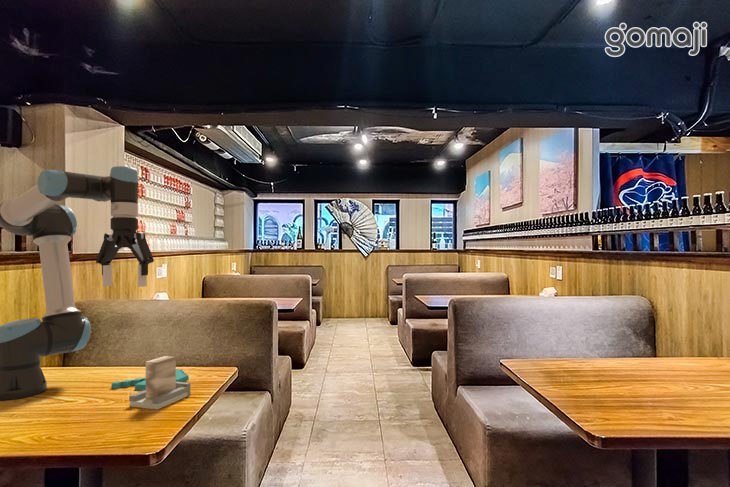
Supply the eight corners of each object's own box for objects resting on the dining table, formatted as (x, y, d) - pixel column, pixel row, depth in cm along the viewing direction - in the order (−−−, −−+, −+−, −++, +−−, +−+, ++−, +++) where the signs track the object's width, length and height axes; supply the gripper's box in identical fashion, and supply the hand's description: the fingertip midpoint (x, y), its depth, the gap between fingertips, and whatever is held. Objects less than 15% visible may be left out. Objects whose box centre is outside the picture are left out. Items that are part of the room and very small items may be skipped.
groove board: (129, 406, 135) (129, 393, 135) (164, 392, 149) (164, 380, 149) (158, 409, 132) (158, 396, 132) (191, 395, 145) (191, 382, 145)
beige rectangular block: (145, 398, 137) (145, 361, 137) (165, 391, 145) (165, 355, 145) (156, 400, 136) (156, 362, 136) (175, 392, 143) (175, 356, 144)
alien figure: (111, 389, 154) (165, 392, 150) (111, 383, 154) (165, 385, 150) (150, 374, 174) (198, 376, 170) (150, 368, 174) (198, 370, 170)
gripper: (83, 218, 143) (83, 286, 142) (147, 214, 135) (147, 287, 134) (103, 219, 150) (103, 285, 149) (166, 216, 142) (166, 285, 141)
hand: (124, 286), depth 142 cm, fingers open, 13 cm apart
